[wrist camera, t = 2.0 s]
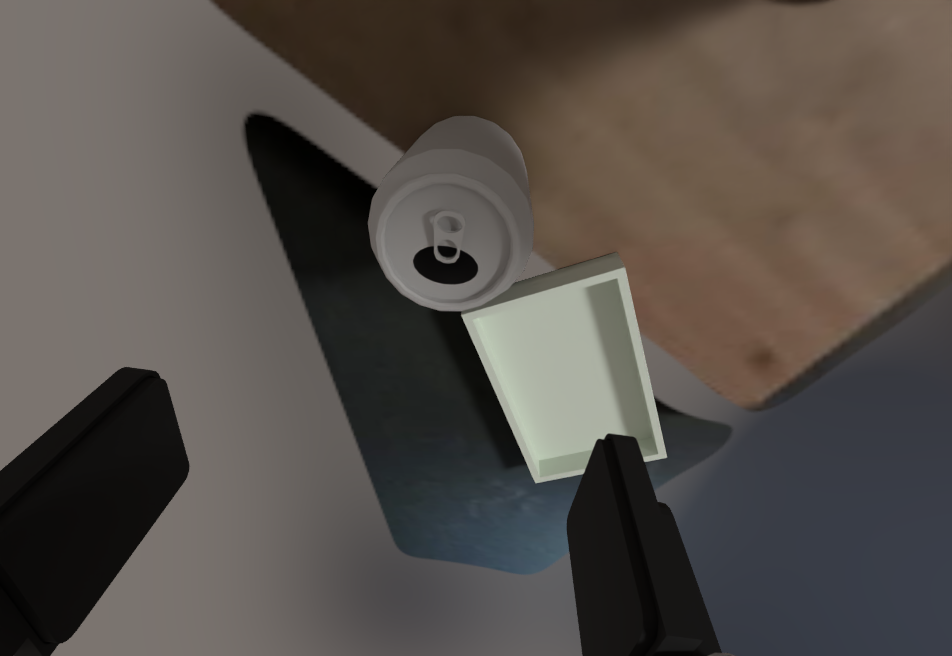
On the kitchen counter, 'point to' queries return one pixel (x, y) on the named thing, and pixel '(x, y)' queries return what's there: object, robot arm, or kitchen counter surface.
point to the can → (454, 216)
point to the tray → (568, 365)
